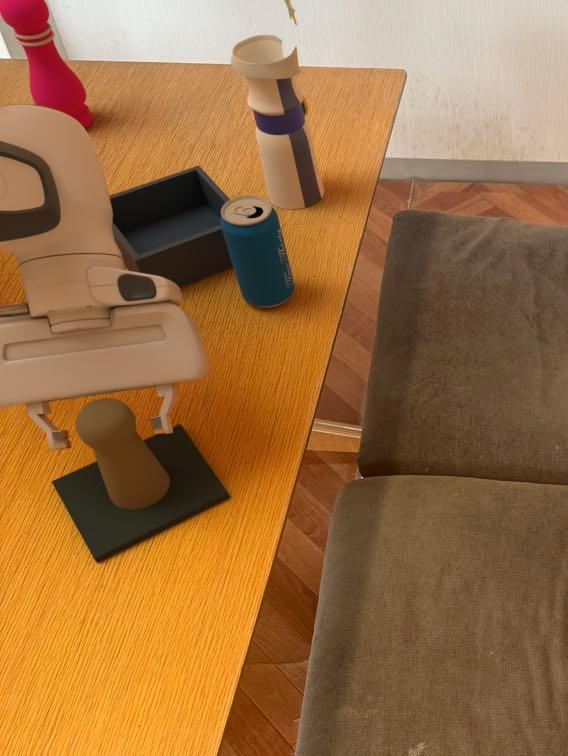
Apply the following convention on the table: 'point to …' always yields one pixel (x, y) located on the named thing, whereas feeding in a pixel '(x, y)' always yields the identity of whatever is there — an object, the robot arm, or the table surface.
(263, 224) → the beverage can
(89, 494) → the mat
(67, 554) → the table surface
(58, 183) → the robot arm
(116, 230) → the bin
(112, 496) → the brown pawn
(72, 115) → the pepper mill
